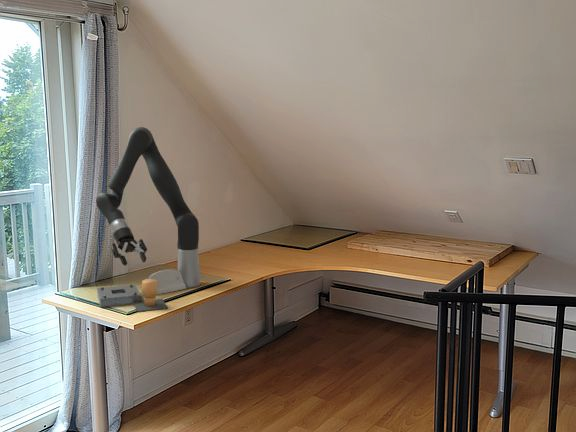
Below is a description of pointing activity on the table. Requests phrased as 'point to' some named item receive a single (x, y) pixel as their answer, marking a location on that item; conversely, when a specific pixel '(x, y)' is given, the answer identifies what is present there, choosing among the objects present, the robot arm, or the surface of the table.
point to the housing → (118, 295)
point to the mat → (141, 306)
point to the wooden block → (149, 291)
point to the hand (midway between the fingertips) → (135, 263)
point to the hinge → (168, 281)
